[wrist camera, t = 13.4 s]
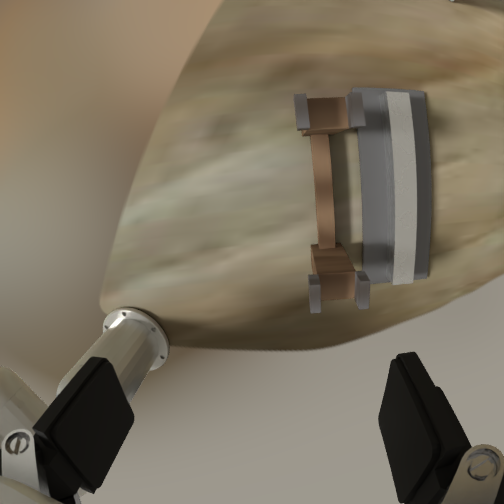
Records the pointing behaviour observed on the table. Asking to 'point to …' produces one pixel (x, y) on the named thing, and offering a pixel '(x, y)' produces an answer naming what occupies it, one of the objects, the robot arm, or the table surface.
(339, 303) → the table surface
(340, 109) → the rack
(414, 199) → the rail
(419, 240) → the mat
